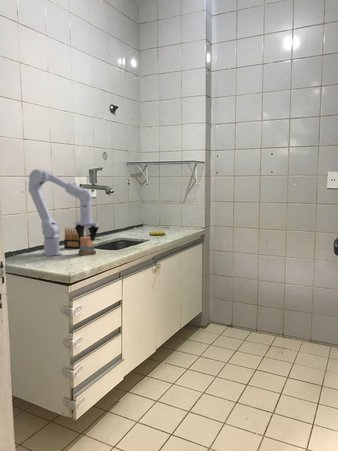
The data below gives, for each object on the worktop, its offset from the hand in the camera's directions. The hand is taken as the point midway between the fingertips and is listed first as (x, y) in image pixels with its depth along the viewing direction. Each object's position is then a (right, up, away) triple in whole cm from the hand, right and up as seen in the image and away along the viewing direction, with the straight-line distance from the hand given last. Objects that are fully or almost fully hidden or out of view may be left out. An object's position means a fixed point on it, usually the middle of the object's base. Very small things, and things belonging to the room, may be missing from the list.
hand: (87, 240), depth 195 cm
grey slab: (0, -5, +1) cm, 6 cm away
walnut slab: (0, -8, +1) cm, 8 cm away
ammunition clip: (-11, -6, +17) cm, 22 cm away
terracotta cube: (0, -3, 0) cm, 3 cm away
